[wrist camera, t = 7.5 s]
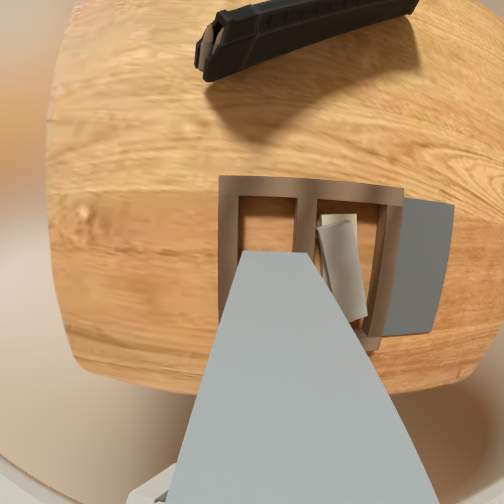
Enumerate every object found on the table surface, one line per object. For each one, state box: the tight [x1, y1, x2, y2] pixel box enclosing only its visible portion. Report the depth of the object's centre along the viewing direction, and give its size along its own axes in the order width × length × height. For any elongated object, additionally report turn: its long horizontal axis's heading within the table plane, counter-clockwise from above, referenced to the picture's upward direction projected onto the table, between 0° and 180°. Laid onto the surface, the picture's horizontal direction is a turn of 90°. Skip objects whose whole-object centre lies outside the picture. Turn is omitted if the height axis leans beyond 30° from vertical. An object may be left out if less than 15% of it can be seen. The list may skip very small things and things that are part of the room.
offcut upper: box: [316, 220, 368, 322], centre depth 30 cm, size 4×11×2 cm, turn 16°
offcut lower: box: [319, 213, 357, 322], centre depth 32 cm, size 4×13×2 cm, turn 4°
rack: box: [218, 176, 404, 351], centre depth 31 cm, size 20×20×2 cm
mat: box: [382, 198, 455, 336], centre depth 31 cm, size 9×18×1 cm, turn 178°
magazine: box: [194, 0, 419, 82], centre depth 20 cm, size 17×3×30 cm
